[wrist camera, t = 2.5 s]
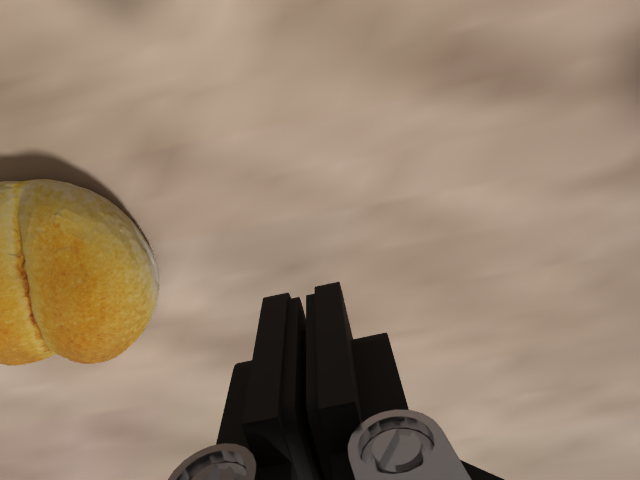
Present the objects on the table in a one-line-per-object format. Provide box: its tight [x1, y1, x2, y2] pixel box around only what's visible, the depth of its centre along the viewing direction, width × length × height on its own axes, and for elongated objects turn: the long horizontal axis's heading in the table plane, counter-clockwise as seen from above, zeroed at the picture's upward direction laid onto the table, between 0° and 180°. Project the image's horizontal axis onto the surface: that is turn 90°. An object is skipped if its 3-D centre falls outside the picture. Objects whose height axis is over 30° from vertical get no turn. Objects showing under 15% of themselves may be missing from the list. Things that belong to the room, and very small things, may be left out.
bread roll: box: [0, 179, 159, 365], centre depth 21 cm, size 8×9×4 cm
